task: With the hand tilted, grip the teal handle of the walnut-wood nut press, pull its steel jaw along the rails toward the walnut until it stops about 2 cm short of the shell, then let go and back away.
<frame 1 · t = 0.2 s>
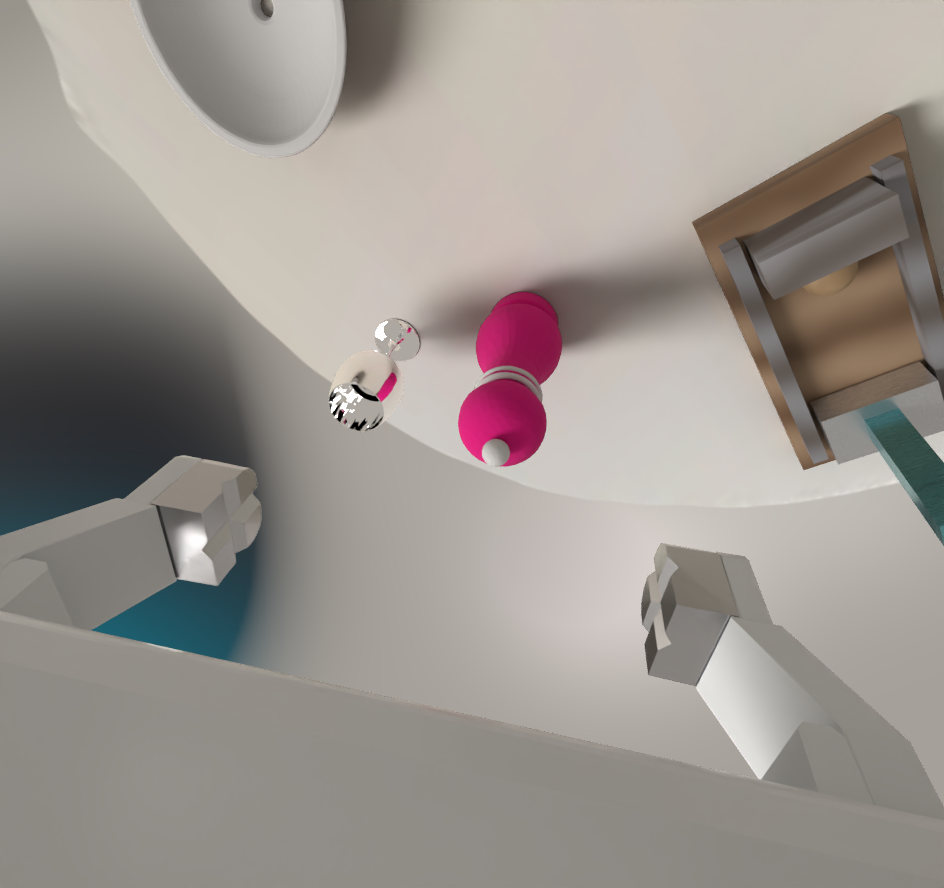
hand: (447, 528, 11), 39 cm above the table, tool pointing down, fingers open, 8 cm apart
press jaw: (910, 459, 40), point 10 cm above the table, slide at 0.0 cm
dish: (270, 6, 39), on the table
pepper mill: (523, 323, 50), on the table
wineglass: (397, 339, 53), on the table
press bench: (833, 317, 45), on the table
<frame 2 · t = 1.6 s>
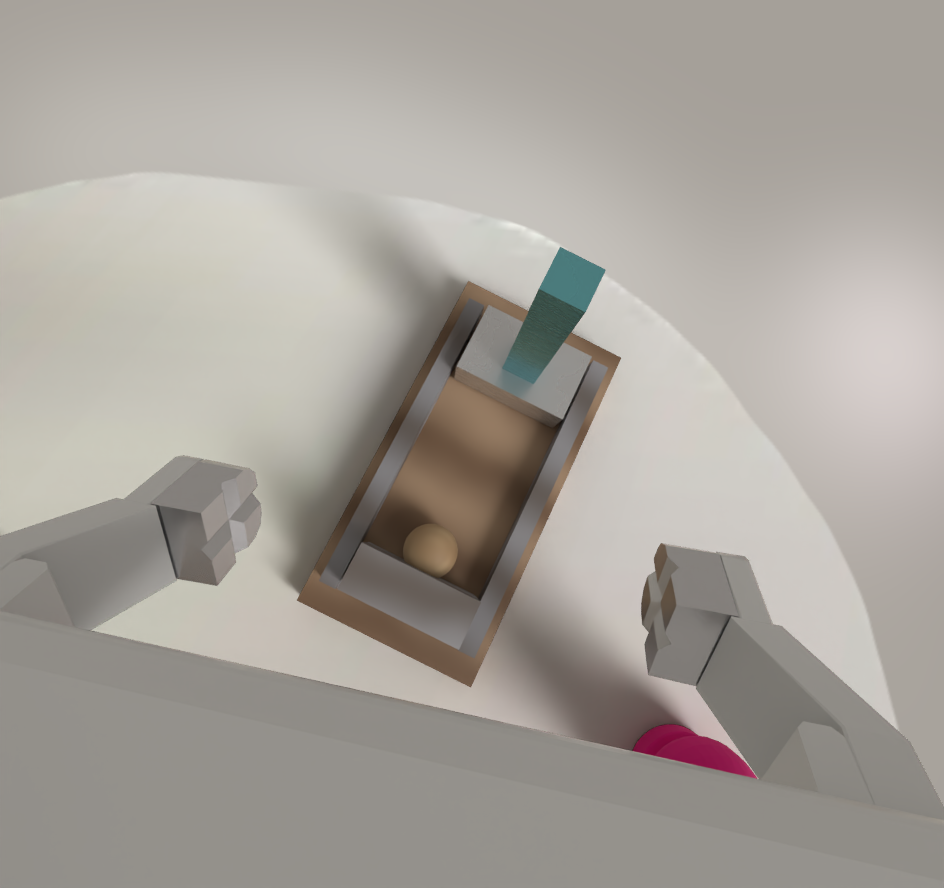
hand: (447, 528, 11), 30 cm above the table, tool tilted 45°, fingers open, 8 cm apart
press jaw: (539, 337, 33), point 10 cm above the table, slide at 0.0 cm
pepper mill: (669, 769, 39), on the table
press bench: (467, 474, 41), on the table
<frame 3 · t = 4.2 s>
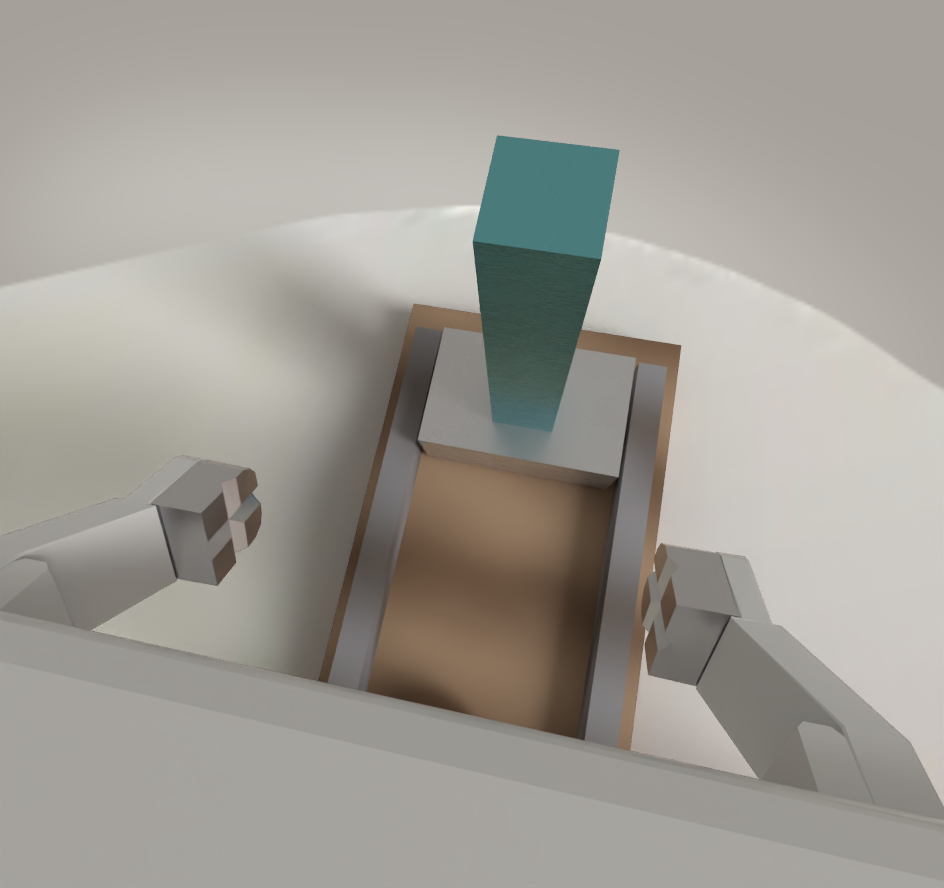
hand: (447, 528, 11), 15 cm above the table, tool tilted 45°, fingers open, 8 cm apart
press jaw: (531, 353, 18), point 10 cm above the table, slide at 0.0 cm
press bench: (493, 596, 25), on the table
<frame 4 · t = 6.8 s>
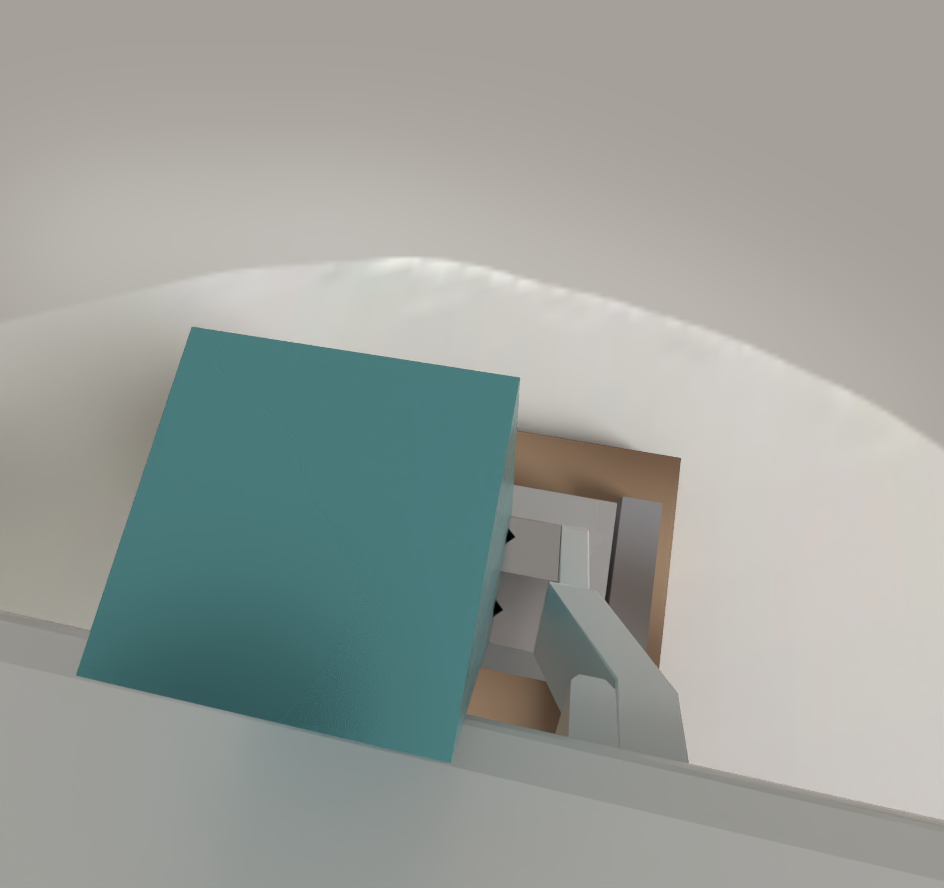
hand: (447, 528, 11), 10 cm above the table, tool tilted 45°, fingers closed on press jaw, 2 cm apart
press jaw: (441, 560, 11), point 10 cm above the table, slide at 0.0 cm, touching gripper
press bench: (428, 806, 18), on the table
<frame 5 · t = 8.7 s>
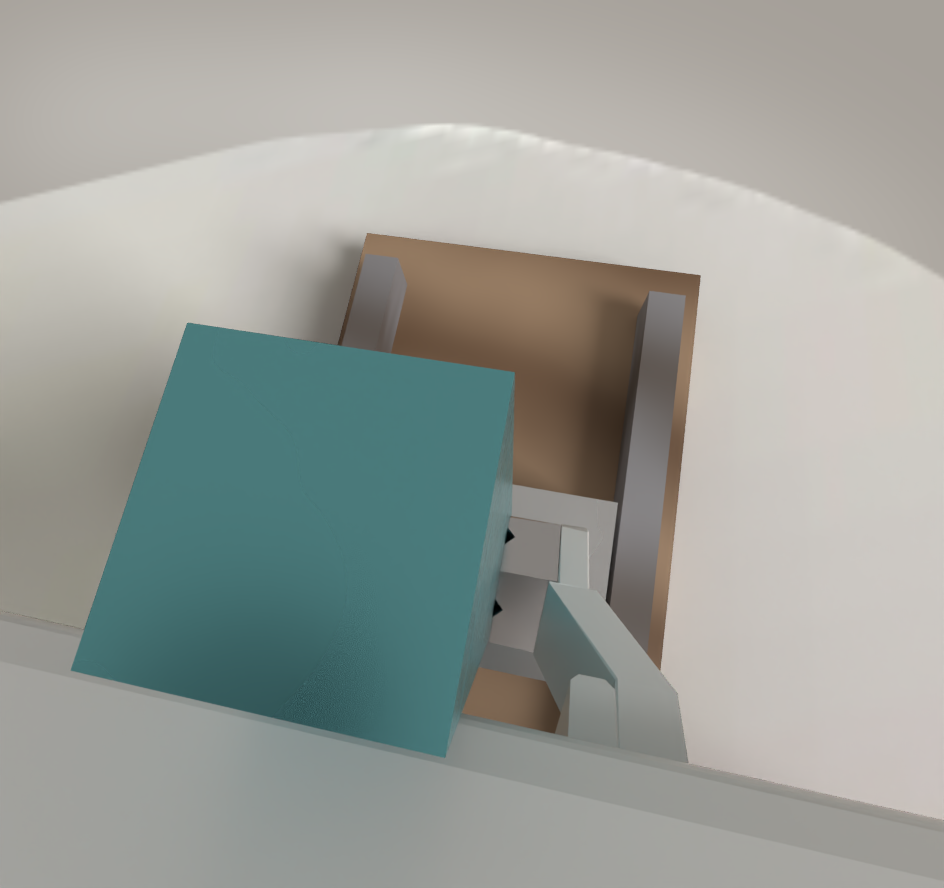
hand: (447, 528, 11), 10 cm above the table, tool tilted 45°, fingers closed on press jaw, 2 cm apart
press jaw: (441, 559, 11), point 10 cm above the table, slide at 7.1 cm, touching gripper
press bench: (469, 594, 20), on the table
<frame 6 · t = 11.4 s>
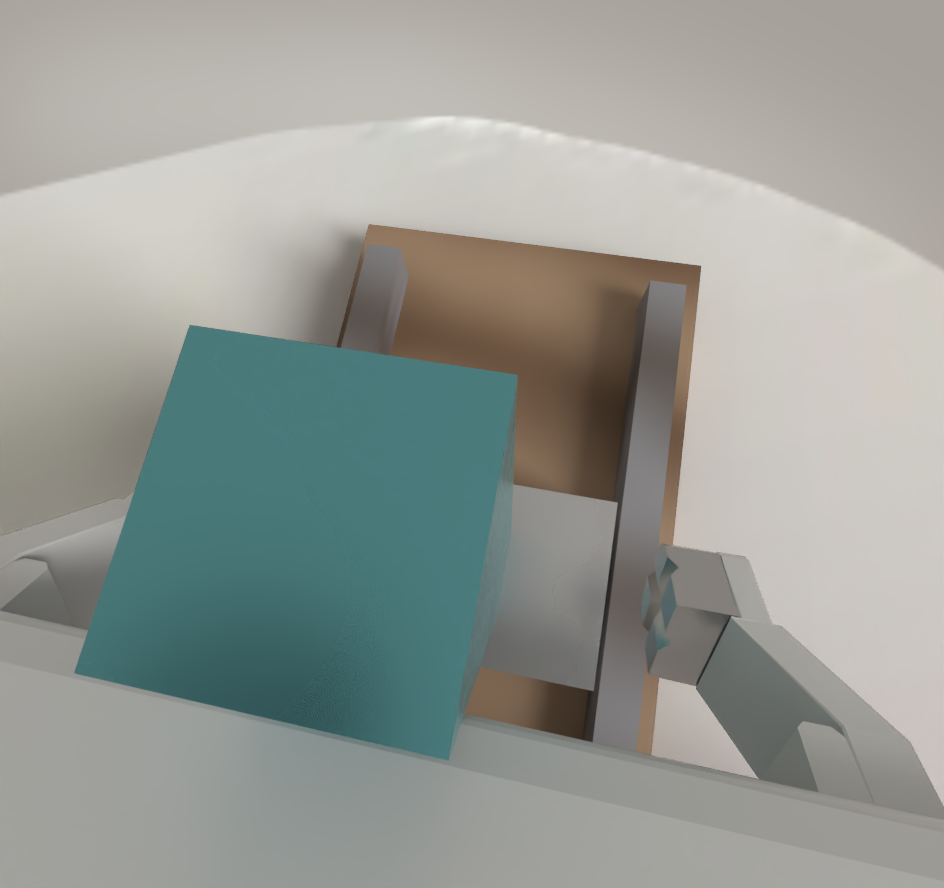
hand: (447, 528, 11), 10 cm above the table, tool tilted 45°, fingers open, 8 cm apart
press jaw: (442, 559, 11), point 10 cm above the table, slide at 7.5 cm
press bench: (470, 583, 20), on the table
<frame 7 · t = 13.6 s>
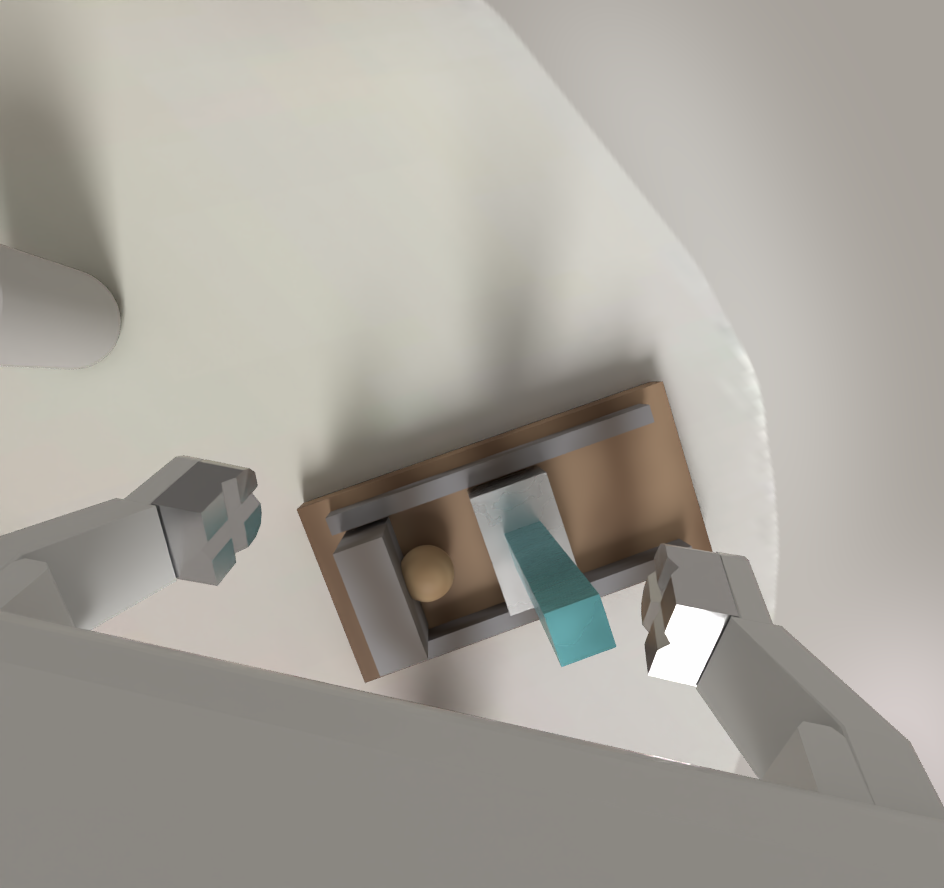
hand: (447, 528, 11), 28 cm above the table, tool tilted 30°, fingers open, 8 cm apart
press jaw: (542, 569, 30), point 10 cm above the table, slide at 7.5 cm
beverage can: (78, 320, 36), on the table
press bench: (508, 526, 39), on the table
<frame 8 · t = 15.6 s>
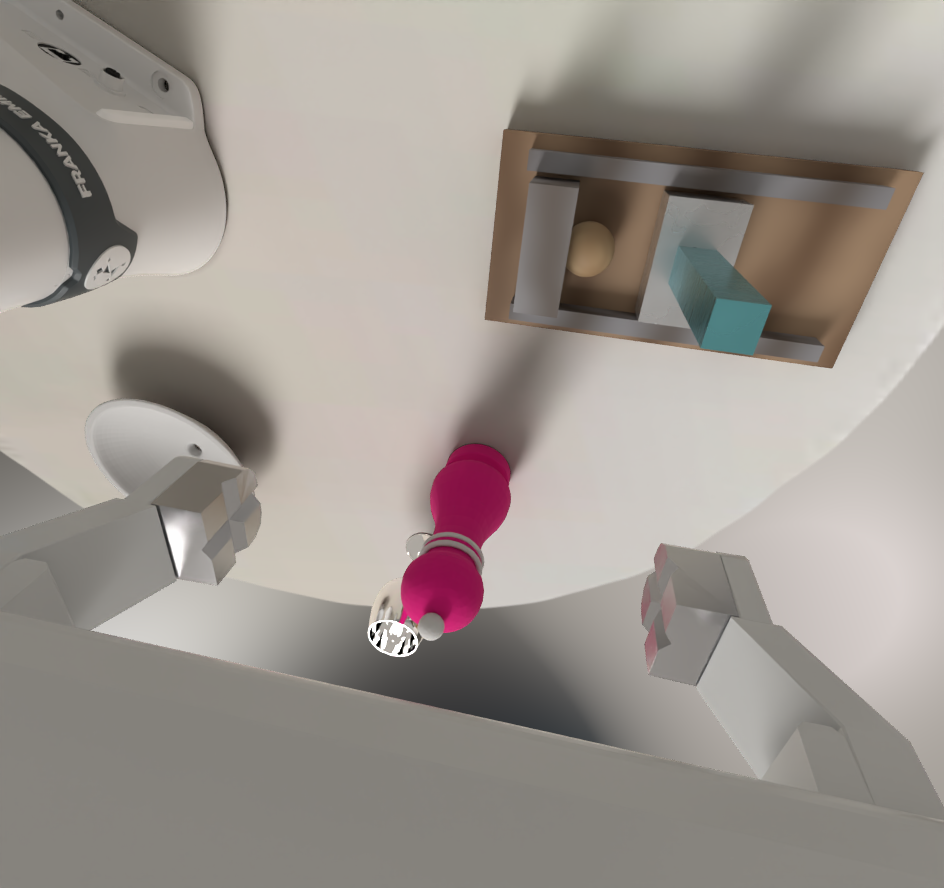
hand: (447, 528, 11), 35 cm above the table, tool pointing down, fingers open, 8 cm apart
press jaw: (704, 285, 31), point 10 cm above the table, slide at 7.5 cm
dish: (201, 444, 58), on the table
pepper mill: (478, 469, 53), on the table
wineglass: (426, 548, 59), on the table
press bench: (672, 249, 40), on the table
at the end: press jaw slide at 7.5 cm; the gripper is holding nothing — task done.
